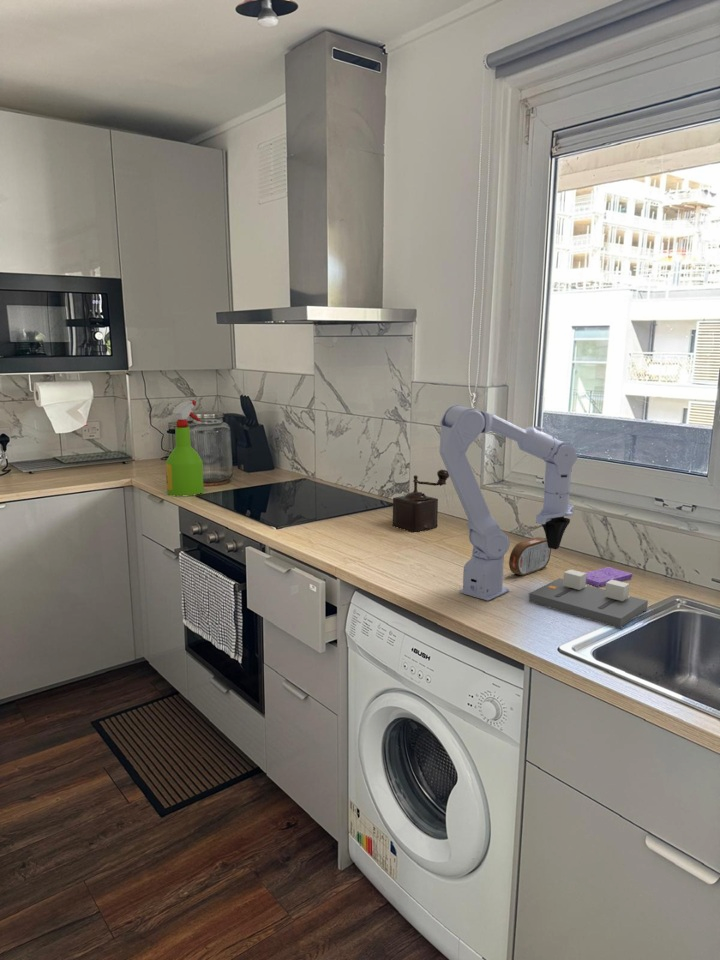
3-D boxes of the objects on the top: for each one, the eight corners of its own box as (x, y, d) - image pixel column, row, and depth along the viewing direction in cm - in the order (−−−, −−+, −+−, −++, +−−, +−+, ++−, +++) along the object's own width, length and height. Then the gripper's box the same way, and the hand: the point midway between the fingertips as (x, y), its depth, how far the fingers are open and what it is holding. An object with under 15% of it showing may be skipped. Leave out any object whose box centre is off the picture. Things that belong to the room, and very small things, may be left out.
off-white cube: (579, 589, 157) (580, 576, 156) (563, 585, 159) (563, 572, 159) (585, 586, 159) (586, 573, 158) (569, 582, 162) (570, 569, 161)
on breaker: (622, 601, 150) (623, 587, 149) (604, 596, 153) (605, 582, 152) (628, 597, 152) (629, 583, 151) (610, 593, 155) (611, 579, 154)
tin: (542, 564, 182) (544, 533, 181) (552, 567, 180) (554, 536, 178) (507, 576, 173) (508, 544, 171) (517, 579, 170) (519, 546, 169)
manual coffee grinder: (416, 533, 211) (417, 475, 208) (391, 526, 219) (392, 470, 216) (450, 525, 221) (452, 469, 217) (425, 518, 229) (427, 465, 226)
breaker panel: (620, 627, 142) (621, 618, 141) (528, 601, 156) (529, 592, 155) (647, 609, 152) (647, 600, 151) (558, 586, 166) (559, 577, 165)
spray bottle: (217, 488, 274) (214, 400, 267) (189, 498, 258) (185, 403, 251) (189, 485, 279) (185, 398, 272) (159, 494, 263) (155, 402, 256)
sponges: (575, 581, 171) (575, 573, 171) (608, 572, 178) (609, 565, 177) (598, 589, 165) (599, 582, 165) (632, 580, 172) (633, 573, 171)
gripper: (557, 499, 154) (553, 558, 156) (587, 489, 164) (583, 545, 167) (529, 494, 158) (526, 551, 161) (559, 485, 169) (556, 539, 171)
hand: (553, 548), depth 164 cm, fingers closed
